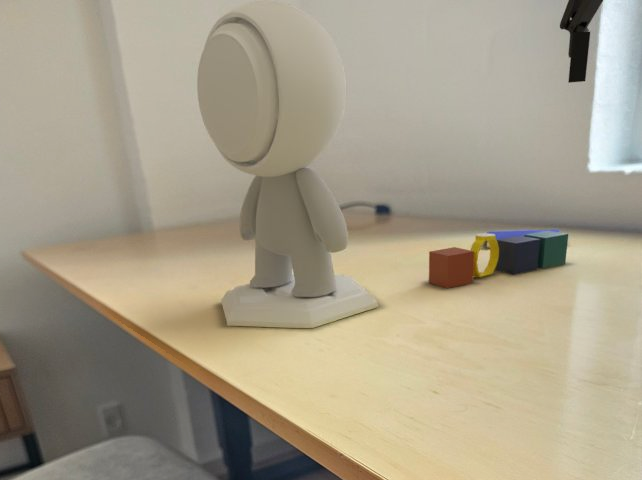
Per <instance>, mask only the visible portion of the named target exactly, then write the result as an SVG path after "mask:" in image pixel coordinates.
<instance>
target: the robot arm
mask: <svg viewBox="0 0 642 480" xmlns="http://www.w3.org/2000/svg"><path fill="white" fill-rule="evenodd" d="M603 2H604V0H568V1H567V4H566V7H565V10H564V12H563V15H562V17H561V20H560V22H559V28H560V29H561V30H565V31H567V32H569V41H568V43H569V44H568V59H569V58H570V61H569V71H568V72H569V73H568V83H583V82H586V79H587V78H586V77H587V69H588V58H589V51H590V50H589V49H590V39H591V31H590V29H589V28H588V27H589V26H590V23H591V22H592V20H593V19H594V17H595V16H596V13H597V12H598V10H599V8H600V7H601V5H602V3H603Z"/></svg>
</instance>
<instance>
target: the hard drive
mask: <svg viewBox="0 0 642 480" xmlns="http://www.w3.org/2000/svg"><path fill="white" fill-rule="evenodd" d="M542 231H553V232H560V231H559V229H558V228H557V229H556V228H555V229H527V230H498V231H497V230H496V231H493V230H491V231H487V232H486V234H495V239H496V240H497V239H503V238H508V237H514V236H524V235H525V234H530V233H536V232H542ZM486 248H487V249H490V246H489V242H488V241H486Z"/></svg>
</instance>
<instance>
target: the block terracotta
mask: <svg viewBox="0 0 642 480" xmlns="http://www.w3.org/2000/svg"><path fill="white" fill-rule="evenodd" d="M428 258H429V259H428V284H432V285H435V286H438V287H443V288H445V289H450V288H455V287H461V286H465V285H470V284H473V282H474V276H473V265H474V251H471V249H465V248H461V247H456V246H453V247H447V248H442V249H435V250H431V251H429V252H428Z"/></svg>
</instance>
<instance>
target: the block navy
mask: <svg viewBox="0 0 642 480" xmlns="http://www.w3.org/2000/svg"><path fill="white" fill-rule="evenodd" d="M497 242H498V246H499V258H498V262H497V266H496V268H495V270H494V271H498V272H501V273H506V274H510V275H518V274H523V273H524V274H525V273H528V272H533V271H537V270H538V269H539V268H538V256H539V244H540V239H536V238H530V237H524V236H514V237H508V238H503V239H497Z"/></svg>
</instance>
